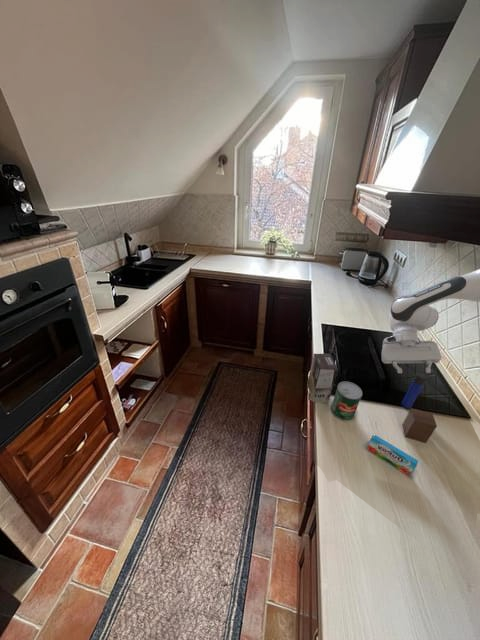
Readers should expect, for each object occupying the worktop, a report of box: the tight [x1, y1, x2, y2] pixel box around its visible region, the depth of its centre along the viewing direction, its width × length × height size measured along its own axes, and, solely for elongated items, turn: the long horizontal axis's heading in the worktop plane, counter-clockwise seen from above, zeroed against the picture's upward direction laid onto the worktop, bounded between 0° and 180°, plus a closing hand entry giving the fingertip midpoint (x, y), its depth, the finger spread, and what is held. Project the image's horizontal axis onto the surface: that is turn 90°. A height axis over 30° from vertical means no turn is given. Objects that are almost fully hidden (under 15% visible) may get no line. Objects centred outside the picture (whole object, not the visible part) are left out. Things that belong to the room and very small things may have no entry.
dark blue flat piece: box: [401, 371, 429, 410], centre depth 90 cm, size 13×3×13 cm
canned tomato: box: [330, 380, 363, 422], centre depth 88 cm, size 8×8×11 cm
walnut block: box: [401, 407, 438, 444], centre depth 81 cm, size 5×6×8 cm
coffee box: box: [306, 353, 339, 404], centre depth 93 cm, size 9×6×16 cm
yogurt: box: [365, 433, 419, 477], centre depth 74 cm, size 12×2×6 cm, turn 48°
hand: (413, 372), depth 99 cm, fingers open, 8 cm apart
